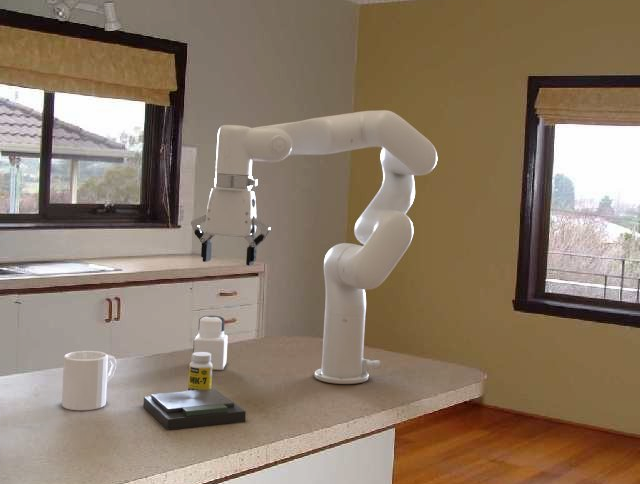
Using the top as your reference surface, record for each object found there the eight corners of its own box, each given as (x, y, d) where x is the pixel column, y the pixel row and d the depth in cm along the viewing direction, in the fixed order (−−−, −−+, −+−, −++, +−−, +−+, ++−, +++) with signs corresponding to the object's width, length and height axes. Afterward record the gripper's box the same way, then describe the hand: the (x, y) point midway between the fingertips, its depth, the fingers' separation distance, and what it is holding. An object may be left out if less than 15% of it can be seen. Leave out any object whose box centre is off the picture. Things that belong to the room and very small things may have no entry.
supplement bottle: (185, 395, 183) (187, 355, 183) (190, 389, 188) (192, 350, 188) (208, 396, 183) (210, 356, 183) (213, 390, 188) (215, 352, 188)
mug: (129, 400, 177) (131, 351, 177) (82, 413, 167) (84, 362, 166) (100, 393, 181) (103, 345, 181) (52, 405, 171) (55, 355, 170)
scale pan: (214, 392, 180) (214, 388, 179) (234, 406, 170) (234, 402, 170) (151, 398, 173) (151, 394, 173) (167, 413, 163) (168, 408, 163)
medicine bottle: (196, 362, 213) (199, 313, 212) (226, 363, 213) (228, 314, 213) (192, 369, 206) (194, 318, 205) (222, 370, 206) (225, 319, 206)
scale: (216, 399, 181) (216, 385, 181) (245, 421, 168) (246, 406, 168) (143, 406, 173) (144, 391, 173) (167, 430, 160) (168, 413, 160)
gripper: (277, 185, 190) (272, 264, 191) (200, 180, 192) (196, 258, 193) (267, 186, 183) (262, 268, 183) (187, 180, 185) (182, 261, 186)
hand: (228, 263), depth 188 cm, fingers open, 9 cm apart
